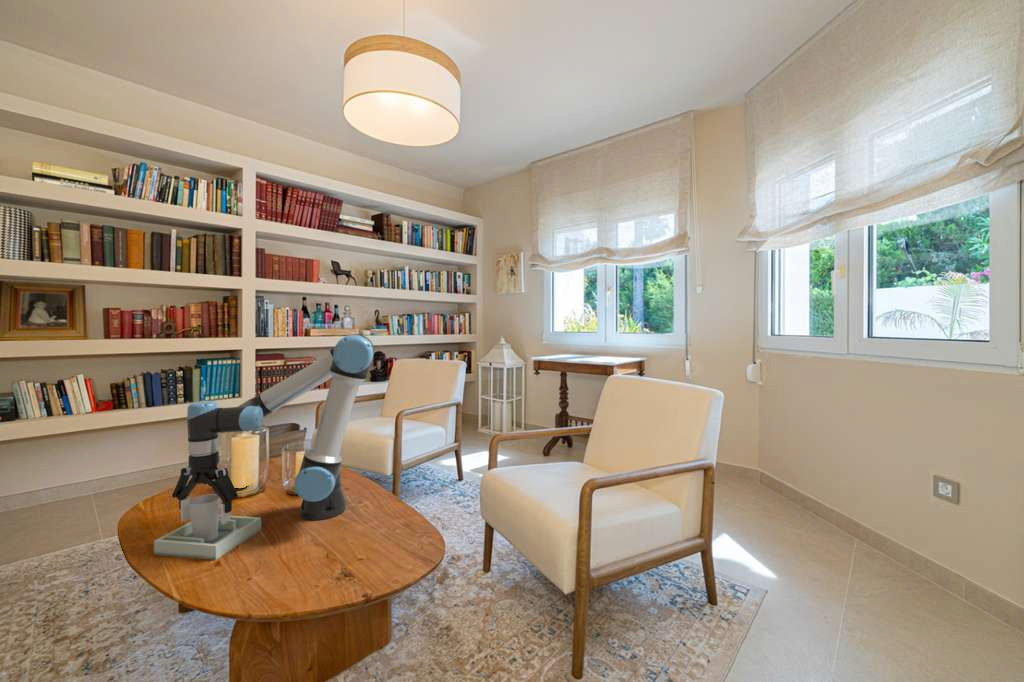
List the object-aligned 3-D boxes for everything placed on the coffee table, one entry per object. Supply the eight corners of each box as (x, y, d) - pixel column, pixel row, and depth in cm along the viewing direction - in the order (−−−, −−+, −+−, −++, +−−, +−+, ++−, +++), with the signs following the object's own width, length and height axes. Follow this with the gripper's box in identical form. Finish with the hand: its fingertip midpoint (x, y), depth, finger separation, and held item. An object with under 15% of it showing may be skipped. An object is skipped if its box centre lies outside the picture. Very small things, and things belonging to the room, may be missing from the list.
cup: (227, 532, 137) (226, 494, 136) (207, 544, 129) (206, 505, 128) (204, 530, 138) (203, 493, 137) (182, 543, 130) (181, 504, 129)
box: (261, 529, 140) (261, 517, 140) (216, 559, 123) (215, 546, 122) (206, 525, 143) (205, 513, 143) (154, 554, 125) (153, 541, 125)
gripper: (250, 450, 134) (251, 518, 135) (178, 447, 137) (180, 513, 138) (231, 458, 126) (233, 529, 127) (156, 454, 130) (158, 524, 131)
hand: (205, 521), depth 133 cm, fingers open, 13 cm apart
